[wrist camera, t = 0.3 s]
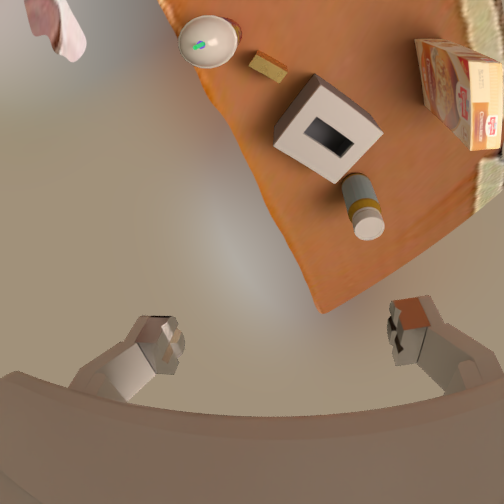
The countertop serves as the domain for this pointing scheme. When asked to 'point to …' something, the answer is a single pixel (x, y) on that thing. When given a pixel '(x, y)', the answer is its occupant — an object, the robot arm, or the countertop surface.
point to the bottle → (362, 206)
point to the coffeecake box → (462, 91)
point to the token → (268, 66)
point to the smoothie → (209, 41)
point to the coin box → (325, 130)
